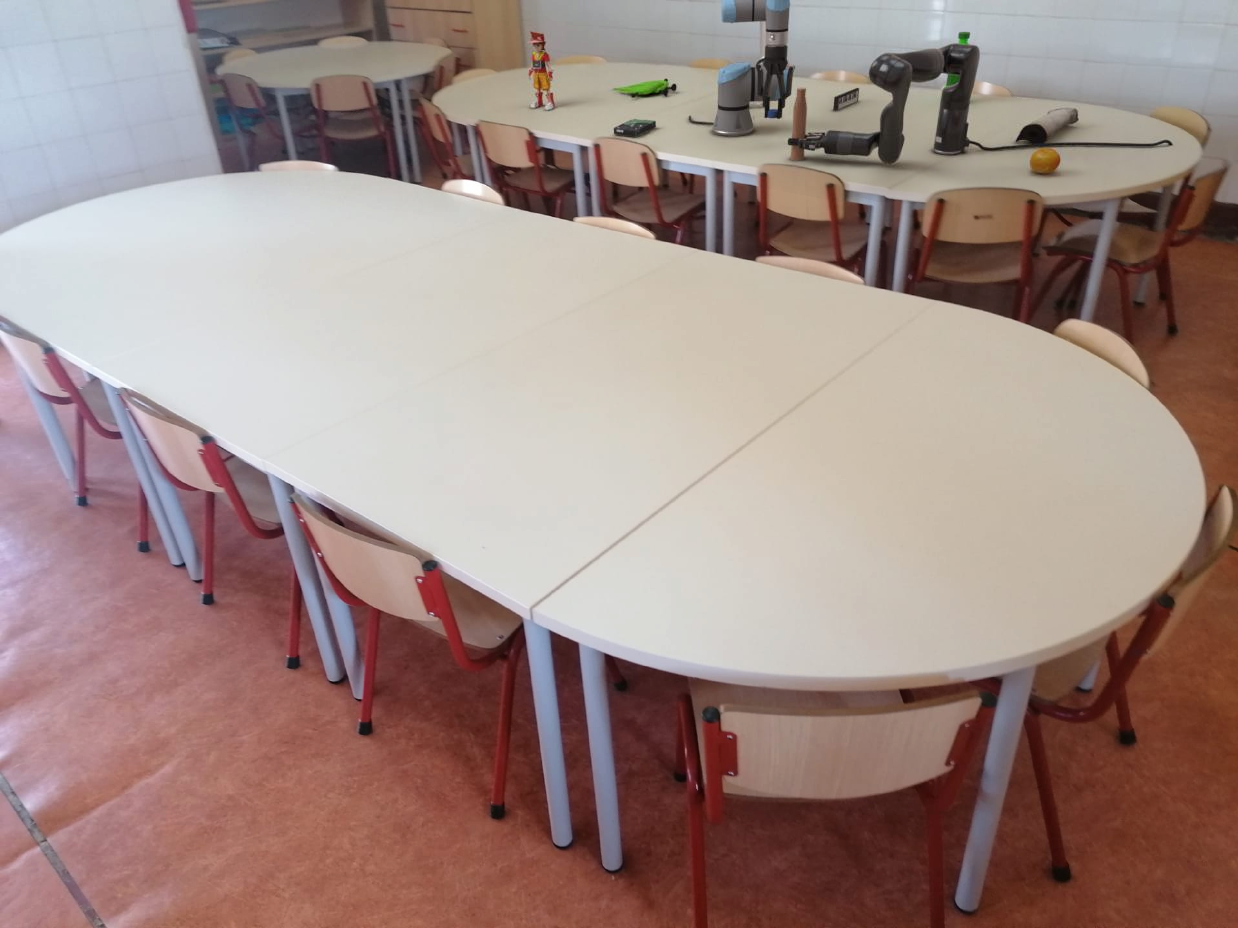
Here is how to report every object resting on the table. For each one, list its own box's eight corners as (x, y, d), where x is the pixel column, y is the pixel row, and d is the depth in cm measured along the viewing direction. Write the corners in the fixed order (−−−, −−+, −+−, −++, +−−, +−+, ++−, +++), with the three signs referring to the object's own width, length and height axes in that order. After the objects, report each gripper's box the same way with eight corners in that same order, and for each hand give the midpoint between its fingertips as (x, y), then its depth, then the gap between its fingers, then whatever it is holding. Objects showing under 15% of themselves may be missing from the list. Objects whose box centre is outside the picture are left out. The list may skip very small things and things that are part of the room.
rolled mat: (1045, 112, 323) (1070, 95, 315) (1059, 134, 324) (1084, 117, 315) (1011, 136, 306) (1036, 118, 298) (1025, 158, 306) (1051, 141, 298)
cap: (781, 116, 314) (781, 109, 312) (776, 119, 311) (776, 112, 310) (770, 115, 316) (770, 108, 314) (765, 118, 313) (765, 111, 311)
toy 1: (525, 109, 381) (517, 32, 364) (534, 104, 388) (527, 28, 371) (550, 110, 377) (543, 32, 360) (559, 105, 384) (553, 28, 367)
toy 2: (686, 85, 398) (631, 84, 414) (685, 72, 395) (629, 72, 411) (651, 104, 381) (596, 103, 397) (650, 92, 378) (594, 91, 394)
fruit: (1025, 163, 276) (1043, 140, 272) (1023, 166, 283) (1041, 143, 280) (1048, 179, 274) (1067, 155, 271) (1046, 181, 282) (1064, 158, 279)
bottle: (806, 159, 303) (810, 89, 290) (794, 161, 302) (798, 90, 289) (799, 156, 307) (804, 86, 294) (788, 158, 306) (792, 88, 293)
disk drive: (636, 138, 336) (656, 127, 346) (636, 130, 334) (656, 120, 344) (613, 135, 340) (633, 125, 351) (613, 128, 339) (633, 118, 349)
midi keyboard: (835, 110, 353) (837, 97, 350) (833, 110, 354) (834, 97, 351) (858, 101, 363) (859, 88, 361) (855, 101, 364) (856, 88, 361)
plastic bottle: (973, 101, 354) (984, 32, 339) (955, 106, 349) (966, 36, 335) (952, 97, 361) (962, 29, 346) (934, 102, 356) (944, 33, 342)
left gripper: (748, 46, 301) (746, 118, 314) (796, 48, 294) (792, 122, 307) (756, 42, 306) (754, 113, 320) (804, 44, 299) (800, 116, 312)
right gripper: (847, 125, 298) (797, 122, 305) (836, 137, 288) (784, 133, 295) (844, 148, 303) (795, 145, 309) (834, 160, 292) (783, 156, 299)
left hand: (773, 117), depth 313 cm, fingers closed on cap, 4 cm apart
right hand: (790, 139), depth 302 cm, fingers closed on bottle, 4 cm apart
